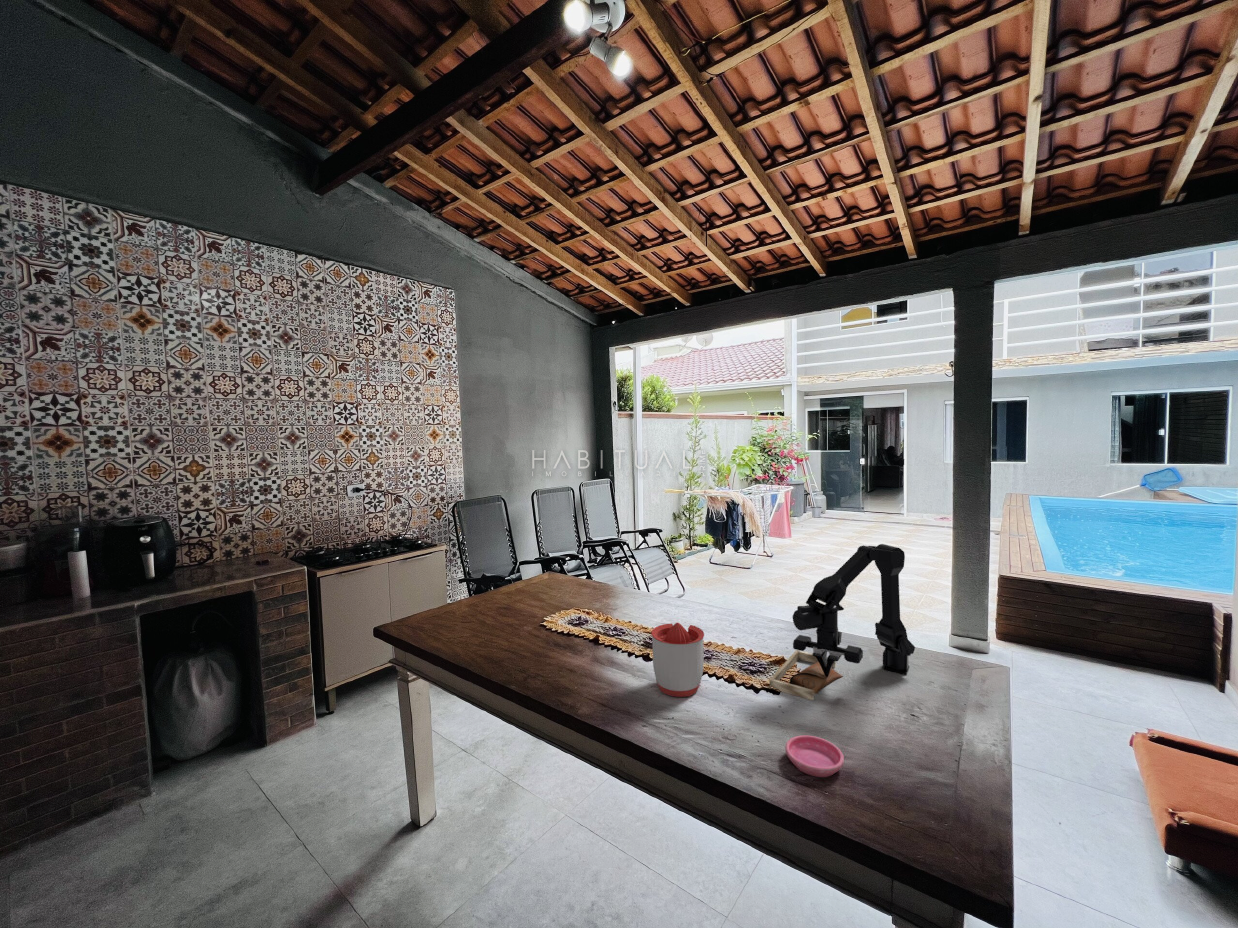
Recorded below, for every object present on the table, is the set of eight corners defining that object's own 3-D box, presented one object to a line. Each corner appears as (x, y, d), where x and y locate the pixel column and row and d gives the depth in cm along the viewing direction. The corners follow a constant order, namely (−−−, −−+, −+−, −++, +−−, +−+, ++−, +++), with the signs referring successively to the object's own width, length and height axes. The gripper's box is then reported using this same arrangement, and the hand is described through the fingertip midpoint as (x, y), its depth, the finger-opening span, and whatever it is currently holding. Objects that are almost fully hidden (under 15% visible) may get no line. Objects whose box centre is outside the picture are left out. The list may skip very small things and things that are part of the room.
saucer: (828, 745, 121) (828, 733, 121) (854, 781, 109) (854, 767, 109) (777, 748, 121) (777, 735, 121) (797, 783, 109) (797, 769, 108)
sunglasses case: (816, 696, 144) (804, 672, 147) (796, 700, 149) (786, 677, 151) (845, 675, 156) (834, 654, 158) (826, 680, 161) (816, 659, 163)
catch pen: (835, 666, 162) (835, 659, 162) (812, 700, 142) (812, 691, 142) (796, 657, 169) (796, 649, 169) (769, 687, 149) (769, 679, 149)
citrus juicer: (708, 675, 157) (707, 613, 156) (701, 704, 141) (701, 634, 140) (658, 670, 162) (657, 609, 161) (647, 698, 145) (646, 630, 144)
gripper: (866, 623, 151) (866, 673, 152) (803, 611, 162) (803, 658, 163) (858, 635, 142) (858, 689, 143) (792, 622, 153) (792, 672, 154)
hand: (827, 676), depth 151 cm, fingers closed
